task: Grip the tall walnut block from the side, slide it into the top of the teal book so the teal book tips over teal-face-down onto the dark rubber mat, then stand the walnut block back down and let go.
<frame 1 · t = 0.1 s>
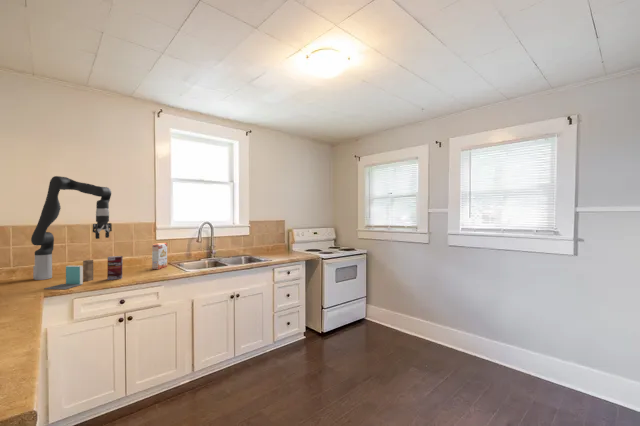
hand: (102, 238, 213), 29 cm above the worktop, tool pointing down, fingers open, 8 cm apart
supplement box: (115, 279, 215), on the worktop
cracker box: (159, 268, 257), on the worktop
mat: (63, 286, 192), on the worktop
teal book: (74, 284, 199), on the worktop
walnut block: (88, 280, 210), on the worktop
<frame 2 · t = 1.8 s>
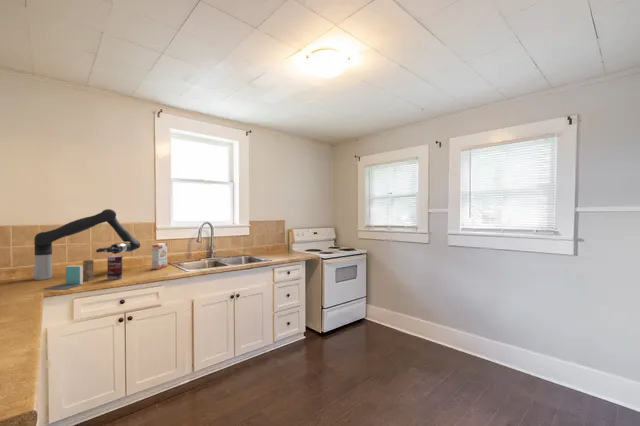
hand: (102, 251, 222), 19 cm above the worktop, tool horizontal, fingers open, 8 cm apart
nothing on the worktop moved.
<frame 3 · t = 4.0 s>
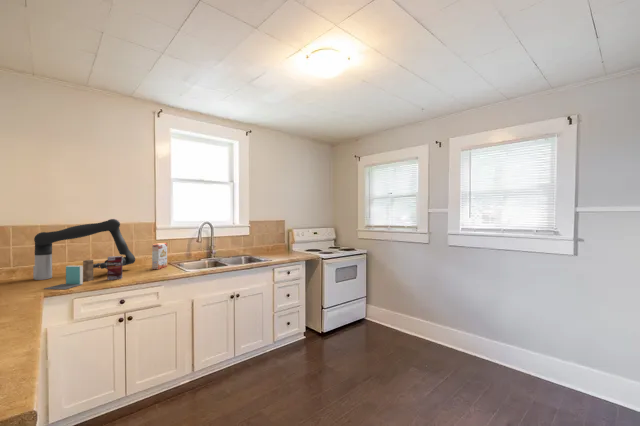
hand: (95, 267, 216), 8 cm above the worktop, tool horizontal, fingers open, 8 cm apart
nothing on the worktop moved.
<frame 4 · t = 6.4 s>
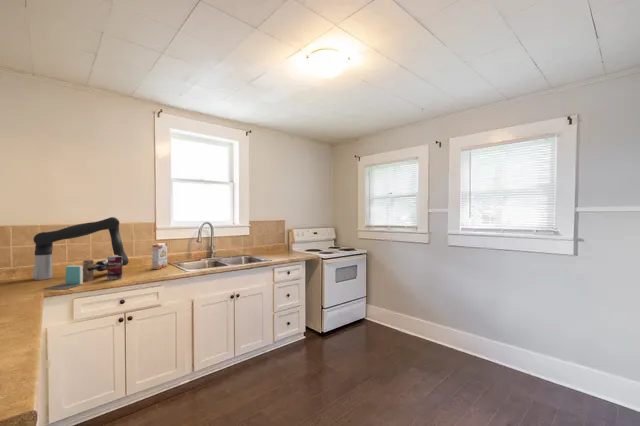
hand: (84, 269, 207), 8 cm above the worktop, tool horizontal, fingers closed on walnut block, 4 cm apart
walnut block: (88, 280, 210), on the worktop, touching gripper
everything else where it was.
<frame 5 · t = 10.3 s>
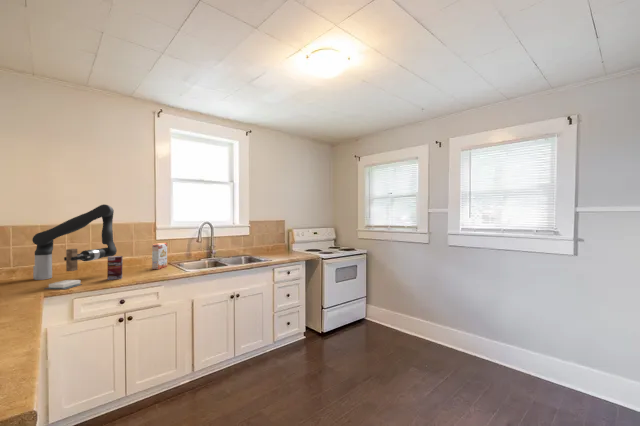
hand: (68, 259, 195), 17 cm above the worktop, tool horizontal, fingers closed on walnut block, 4 cm apart
teal book: (73, 281, 199), point 2 cm above the worktop, tilted 90°, touching mat
walnut block: (72, 270, 198), point 9 cm above the worktop, touching gripper
everything else where it was.
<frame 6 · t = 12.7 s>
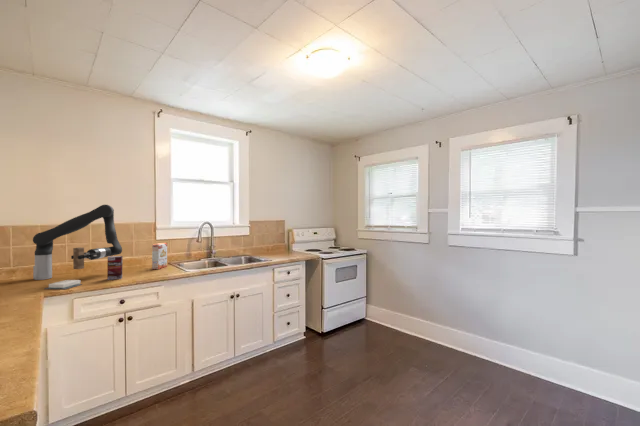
hand: (75, 257, 200), 18 cm above the worktop, tool horizontal, fingers closed on walnut block, 4 cm apart
walnut block: (78, 268, 203), point 10 cm above the worktop, touching gripper
everything else where it was.
when the fingers open (9 cm above the worktop, at t = 15.1 s): walnut block drops 1 cm, on the worktop.
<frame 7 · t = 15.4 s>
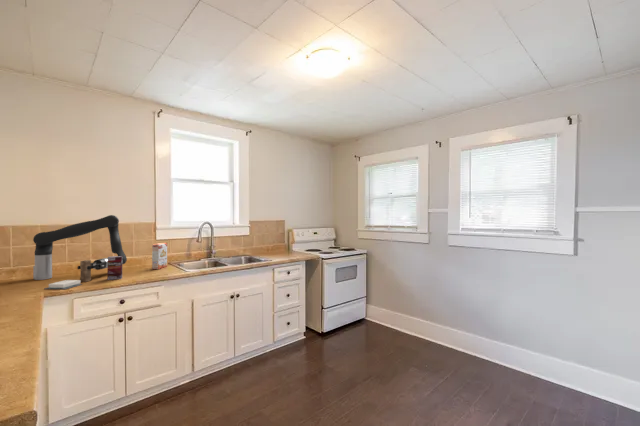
hand: (82, 267, 206), 10 cm above the worktop, tool horizontal, fingers open, 6 cm apart
walnut block: (85, 281, 208), on the worktop
everything else where it was.
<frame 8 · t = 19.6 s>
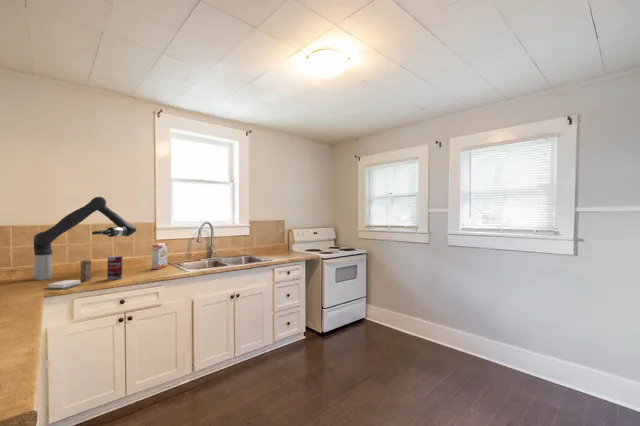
hand: (98, 233, 223), 32 cm above the worktop, tool horizontal, fingers open, 8 cm apart
nothing on the worktop moved.
at the end: teal book tilted 90°; teal book inside the target area (6.0 cm from its centre), point 1.6 cm above the worktop; the gripper is holding nothing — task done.
